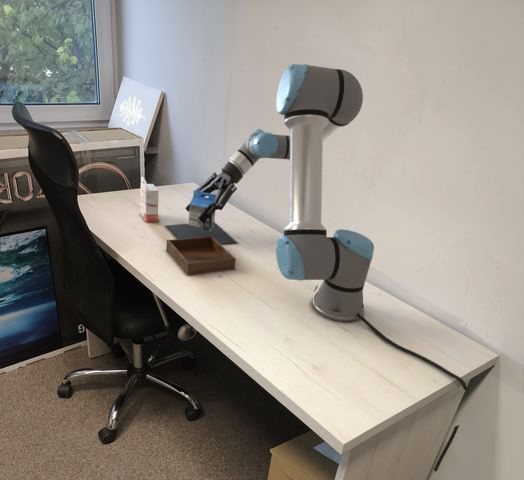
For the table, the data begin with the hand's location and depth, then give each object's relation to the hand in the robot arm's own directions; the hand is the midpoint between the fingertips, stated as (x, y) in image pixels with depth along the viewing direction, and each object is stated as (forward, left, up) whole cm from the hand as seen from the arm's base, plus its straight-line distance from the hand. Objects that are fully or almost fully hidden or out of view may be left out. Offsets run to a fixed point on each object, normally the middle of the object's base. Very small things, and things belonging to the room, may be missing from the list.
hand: (194, 215), depth 171 cm
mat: (0, -3, -7) cm, 8 cm away
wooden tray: (-20, +6, -7) cm, 22 cm away
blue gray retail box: (0, -3, -5) cm, 6 cm away
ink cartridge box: (+19, +10, -8) cm, 23 cm away
